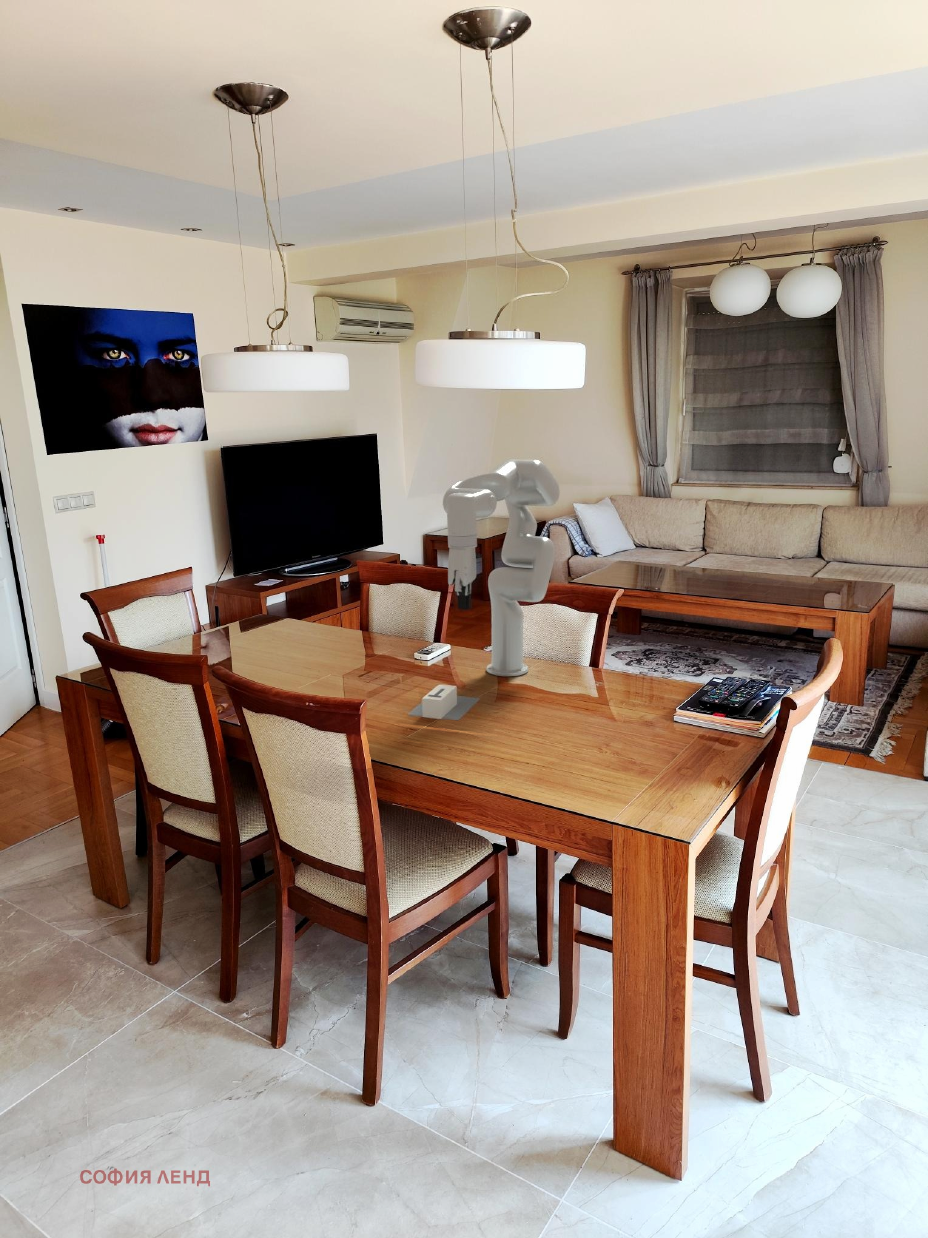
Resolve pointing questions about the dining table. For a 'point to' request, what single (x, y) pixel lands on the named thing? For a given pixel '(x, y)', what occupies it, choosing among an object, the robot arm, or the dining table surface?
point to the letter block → (439, 701)
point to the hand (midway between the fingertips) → (464, 608)
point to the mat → (456, 712)
